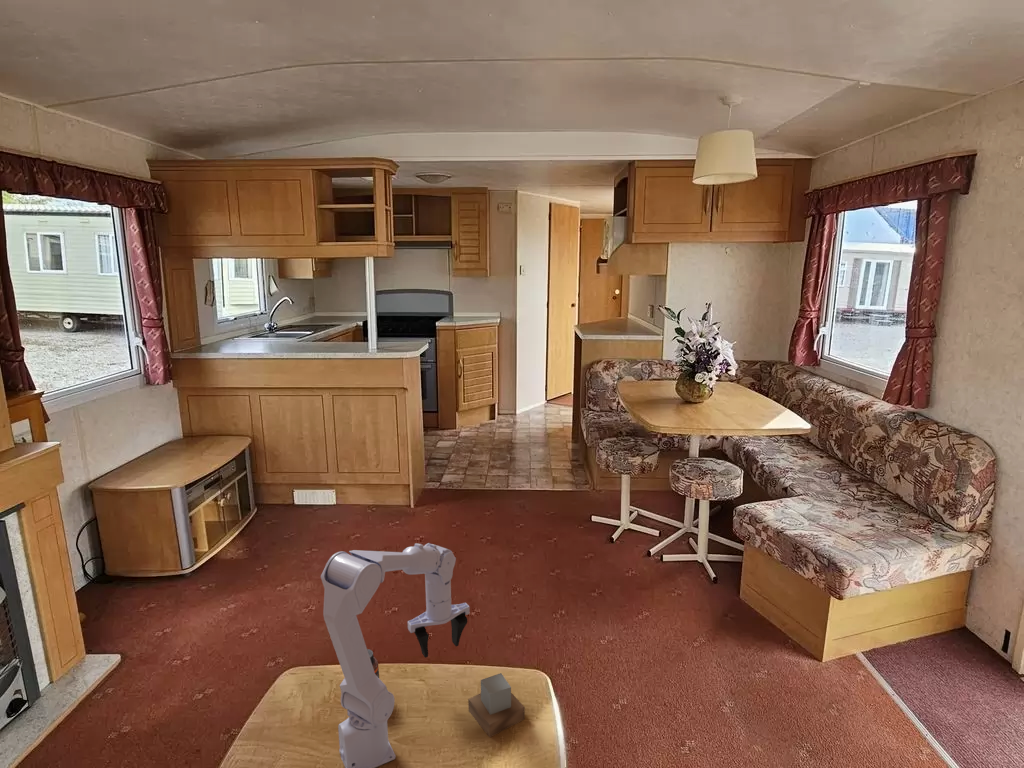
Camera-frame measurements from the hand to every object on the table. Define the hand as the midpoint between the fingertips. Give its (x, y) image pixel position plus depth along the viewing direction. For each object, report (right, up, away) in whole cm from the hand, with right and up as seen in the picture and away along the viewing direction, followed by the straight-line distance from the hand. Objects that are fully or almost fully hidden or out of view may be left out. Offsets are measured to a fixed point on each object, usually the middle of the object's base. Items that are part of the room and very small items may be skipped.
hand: (440, 649), depth 136 cm
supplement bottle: (-17, -11, -1) cm, 20 cm away
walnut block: (+13, -12, -6) cm, 19 cm away
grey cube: (+13, -9, -7) cm, 17 cm away
